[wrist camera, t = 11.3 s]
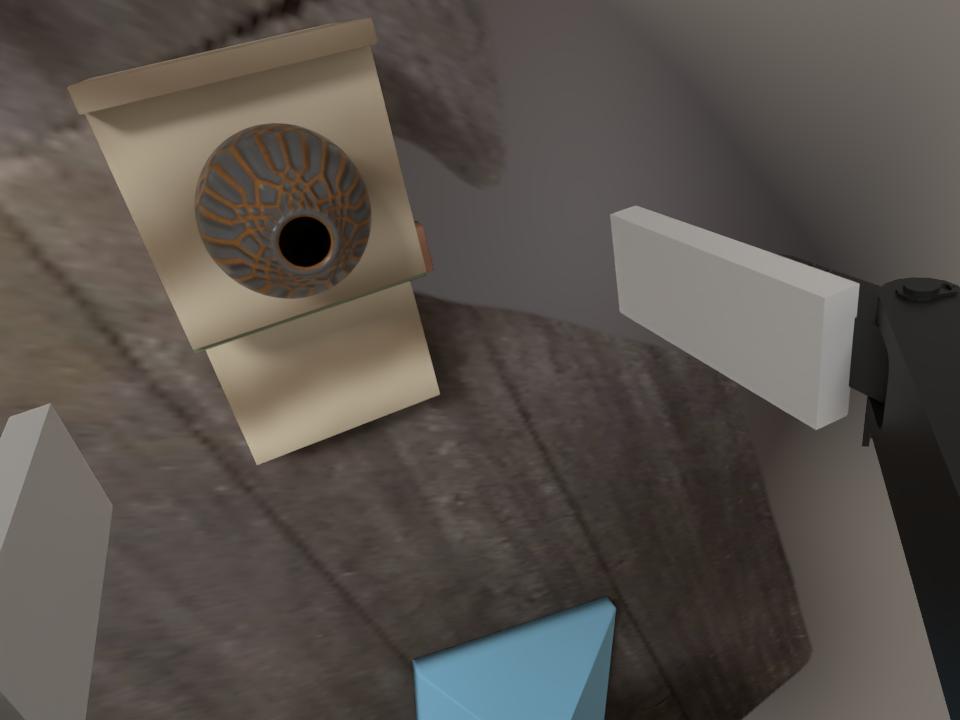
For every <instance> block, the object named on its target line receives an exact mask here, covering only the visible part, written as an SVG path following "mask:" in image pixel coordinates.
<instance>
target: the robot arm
mask: <svg viewBox="0 0 960 720" xmlns="http://www.w3.org/2000/svg"><path fill="white" fill-rule="evenodd" d="M610 219H611V229H612V239H613V249H614V258H615V268H616V279H617V289H618V299H619V309H620V313H622V314H624V315H626V316H627V317H629V318H630V319H632V320H634V321H635V322H637V323H639V324H640V325H642V326H644V327H645V328H647V329H649V330H650V331H652V332H654V333H655V334H657V335H659V336H660V337H662V338H664V339H665V340H667V341H669V342H670V343H672V344H674V345H675V346H677V347H679V348H680V349H682V350H684V351H685V352H687V353H689V354H690V355H692V356H694V357H695V358H697V359H699V360H700V361H702V362H704V363H705V364H707V365H709V366H710V367H712V368H714V369H715V370H717V371H719V372H720V373H722V374H724V375H725V376H727V377H729V378H730V379H732V380H734V381H735V382H737V383H739V384H740V385H742V386H744V387H745V388H747V389H749V390H750V391H752V392H754V393H755V394H757V395H759V396H760V397H762V398H764V399H766V400H767V401H769V402H770V403H772V404H774V405H775V406H777V407H779V408H780V409H782V410H784V411H785V412H787V413H789V414H790V415H792V416H794V417H795V418H797V419H799V420H800V421H802V422H804V423H805V424H807V425H808V426H810V427H812V428H813V429H815V430H818V429H820V428H822V427H824V426H826V425H828V424H830V423H832V422H834V421H837V420H838V419H841V418H843V417H845V416H847V415H848V405H849V394H850V387H852V388H853V389H855V390H858V391H860V392H861V393H863V394H865V395H867V405H866V415H865V424H864V433H863V442H862V446H869V442H870V439H871V438H873V442H874V445H875V449H876V453H877V456H878V460H879V464H880V467H881V471H882V474H883V478H884V482H885V485H886V488H887V492H888V495H889V499H890V503H891V506H892V510H893V514H894V517H895V521H896V524H897V528H898V532H899V535H900V539H901V543H902V546H903V550H904V553H905V557H906V561H907V564H908V568H909V571H910V575H911V579H912V582H913V585H914V589H915V593H916V596H917V600H918V604H919V607H920V611H921V614H922V618H923V622H924V625H925V628H926V632H927V636H928V639H929V643H930V647H931V650H932V654H933V657H934V661H935V664H936V668H937V672H938V676H939V679H940V682H941V686H942V690H943V693H944V697H945V701H946V704H947V708H948V711H949V715H950V719H951V720H960V287H959V286H958V285H955V284H952V283H950V282H947V281H944V280H938V279H932V278H905V279H898V280H894V281H891V282H888V283H886V284H884V285H883V286H882V287H881V286H878V285H875V284H872V283H869V282H866V281H863V280H861V279H858V278H855V277H852V276H849V275H846V274H843V273H840V272H837V271H834V270H832V271H829V268H826V267H823V266H820V265H817V264H816V265H813V264H812V263H811V262H808V261H805V260H802V259H799V258H796V257H794V256H788V255H780V254H774V253H770V252H768V251H765V250H762V249H759V248H756V247H754V246H751V245H748V244H745V243H742V242H739V241H736V240H733V239H730V238H728V237H725V236H722V235H719V234H716V233H713V232H710V231H708V230H705V229H702V228H699V227H696V226H693V225H690V224H688V223H684V222H682V221H679V220H676V219H673V218H670V217H667V216H665V215H661V214H659V213H656V212H653V211H650V210H647V209H645V208H642V207H639V206H633V207H630V208H627V209H624V210H621V211H618V212H616V213H612V214H610ZM112 508H113V505H112V504H111V502H110V500H109V499H108V497H107V496H106V494H105V492H104V491H103V489H102V487H101V486H100V484H99V482H98V481H97V479H96V477H95V476H94V474H93V472H92V471H91V469H90V467H89V466H88V464H87V462H86V461H85V459H84V458H83V456H82V454H81V453H80V451H79V449H78V448H77V446H76V444H75V443H74V441H73V439H72V438H71V436H70V434H69V433H68V431H67V429H66V428H65V426H64V424H63V423H62V421H61V419H60V418H59V416H58V415H57V413H56V411H55V410H54V408H53V406H52V405H51V403H50V404H47V405H44V406H41V407H38V408H35V409H32V410H29V411H26V412H23V413H20V414H17V415H14V416H11V417H9V419H8V422H7V424H6V426H5V429H4V431H3V433H2V436H1V438H0V720H85V718H86V710H87V702H88V695H89V687H90V679H91V671H92V664H93V656H94V648H95V640H96V632H97V625H98V617H99V609H100V601H101V594H102V586H103V578H104V570H105V562H106V555H107V547H108V539H109V531H110V524H111V516H112Z"/></svg>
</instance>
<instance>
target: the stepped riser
mask: <svg viewBox="0 0 960 720" xmlns="http://www.w3.org/2000/svg"><path fill="white" fill-rule="evenodd" d="M377 43H378V40H377V36H376V32H375V28H374V24H373V20H372V17H371V18H364V19H357V20H351V21H344V22H337V23H331V24H325V25H321V26H317V27H312V28H308V29H303V30H299V31H295V32H290V33H286V34H281V35H277V36H273V37H268V38H264V39H259V40H255V41H251V42H246V43H242V44H238V45H233V46H229V47H224V48H220V49H216V50H211V51H207V52H202V53H198V54H194V55H189V56H185V57H180V58H176V59H172V60H167V61H163V62H158V63H154V64H150V65H145V66H141V67H136V68H132V69H128V70H123V71H119V72H114V73H110V74H106V75H101V76H97V77H92V78H90V79H87V80H84V81H82V82H79V83H76V84H74V85H71V86H68V87H67V89H68V91H69V93H70V96H71V98H72V100H73V102H74V104H75V106H76V108H77V111H78V113H79V115H81V114H85V115H86V117H87V120H88V122H89V124H90V126H91V128H92V130H93V133H94V135H95V137H96V139H97V141H98V144H99V146H100V148H101V150H102V152H103V154H104V157H105V159H106V161H107V163H108V165H109V168H110V170H111V172H112V174H113V176H114V178H115V181H116V183H117V185H118V187H119V189H120V192H121V194H122V196H123V198H124V200H125V202H126V205H127V207H128V209H129V211H130V213H131V216H132V218H133V220H134V222H135V224H136V226H137V229H138V231H139V233H140V235H141V237H142V240H143V242H144V244H145V246H146V248H147V250H148V253H149V255H150V257H151V259H152V261H153V264H154V266H155V268H156V270H157V272H158V274H159V277H160V279H161V281H162V283H163V285H164V288H165V290H166V292H167V294H168V296H169V298H170V301H171V303H172V305H173V307H174V309H175V312H176V314H177V316H178V318H179V320H180V322H181V325H182V327H183V329H184V331H185V333H186V336H187V338H188V340H189V342H190V344H191V346H192V349H193V350H194V351H195V353H198V352H201V351H204V350H206V352H207V355H208V357H209V359H210V361H211V363H212V366H213V368H214V370H215V372H216V375H217V377H218V379H219V381H220V384H221V386H222V388H223V390H224V392H225V395H226V397H227V399H228V401H229V404H230V406H231V408H232V410H233V413H234V415H235V417H236V419H237V421H238V424H239V426H240V428H241V430H242V433H243V435H244V437H245V439H246V442H247V444H248V446H249V448H250V450H251V453H252V455H253V457H254V459H255V462H256V464H257V465H259V464H261V463H264V462H267V461H269V460H272V459H274V458H277V457H279V456H282V455H285V454H287V453H290V452H292V451H295V450H298V449H300V448H303V447H305V446H308V445H311V444H313V443H316V442H318V441H321V440H323V439H326V438H329V437H331V436H334V435H336V434H339V433H342V432H344V431H347V430H349V429H352V428H355V427H357V426H360V425H362V424H365V423H367V422H370V421H373V420H375V419H378V418H380V417H383V416H386V415H388V414H391V413H393V412H396V411H398V410H401V409H404V408H406V407H409V406H411V405H414V404H417V403H419V402H422V401H424V400H427V399H430V398H432V397H435V396H437V395H440V392H439V388H438V384H437V380H436V376H435V373H434V369H433V365H432V361H431V357H430V354H429V350H428V346H427V342H426V339H425V335H424V331H423V327H422V323H421V320H420V316H419V312H418V308H417V304H416V301H415V297H414V293H413V289H412V285H411V282H410V281H412V280H415V279H418V278H421V277H423V276H426V273H425V272H428V271H431V270H433V265H432V261H431V257H430V253H429V248H428V245H427V240H426V236H425V232H424V228H423V225H421V224H420V223H418V222H417V221H414V219H413V215H412V212H411V207H410V203H409V200H408V195H407V191H406V187H405V183H404V180H403V175H402V171H401V167H400V164H399V159H398V155H397V151H396V147H395V143H394V139H393V135H392V131H391V127H390V123H389V119H388V115H387V111H386V107H385V103H384V99H383V95H382V91H381V87H380V83H379V79H378V75H377V71H376V67H375V63H374V59H373V55H372V51H371V47H370V45H373V44H377ZM269 123H283V124H291V125H297V126H300V127H304V128H307V129H310V130H312V131H314V132H316V133H319V134H320V135H322V136H324V137H326V138H327V139H329V140H330V141H332V142H333V143H334V144H336V145H337V146H338V147H339V148H340V149H341V150H343V151H344V152H345V153H346V154H347V155H348V157H349V158H350V159H351V160H352V161H353V163H354V164H355V166H356V167H357V169H358V170H359V172H360V174H361V176H362V178H363V180H364V182H365V185H366V188H367V190H368V194H369V198H370V204H371V213H372V221H371V231H370V236H369V240H368V243H367V246H366V249H365V251H364V253H363V256H362V257H361V259H360V261H359V262H358V264H357V265H356V267H355V268H354V269H353V270H352V272H351V273H350V274H349V275H348V276H347V277H346V278H345V279H344V280H342V281H341V282H340V283H338V284H337V285H335V286H334V287H332V288H330V289H329V290H326V291H324V292H322V293H319V294H316V295H313V296H309V297H304V298H295V299H284V298H275V297H271V296H266V295H262V294H259V293H257V292H254V291H252V290H250V289H248V288H246V287H244V286H242V285H240V284H239V283H237V282H236V281H234V280H233V279H232V278H230V277H229V276H228V275H227V274H226V273H225V272H223V271H222V269H221V268H220V267H219V266H218V265H217V264H216V263H215V262H214V260H213V259H212V258H211V256H210V255H209V253H208V251H207V250H206V248H205V246H204V244H203V242H202V239H201V237H200V234H199V231H198V227H197V223H196V218H195V205H194V204H195V191H196V186H197V182H198V179H199V175H200V173H201V171H202V169H203V167H204V165H205V163H206V161H207V160H208V158H209V156H210V155H211V154H212V153H213V151H214V150H215V149H216V148H217V147H218V146H219V145H220V144H221V143H222V142H223V141H225V140H226V139H227V138H229V137H230V136H232V135H233V134H235V133H237V132H239V131H241V130H244V129H246V128H249V127H252V126H256V125H261V124H269Z"/></svg>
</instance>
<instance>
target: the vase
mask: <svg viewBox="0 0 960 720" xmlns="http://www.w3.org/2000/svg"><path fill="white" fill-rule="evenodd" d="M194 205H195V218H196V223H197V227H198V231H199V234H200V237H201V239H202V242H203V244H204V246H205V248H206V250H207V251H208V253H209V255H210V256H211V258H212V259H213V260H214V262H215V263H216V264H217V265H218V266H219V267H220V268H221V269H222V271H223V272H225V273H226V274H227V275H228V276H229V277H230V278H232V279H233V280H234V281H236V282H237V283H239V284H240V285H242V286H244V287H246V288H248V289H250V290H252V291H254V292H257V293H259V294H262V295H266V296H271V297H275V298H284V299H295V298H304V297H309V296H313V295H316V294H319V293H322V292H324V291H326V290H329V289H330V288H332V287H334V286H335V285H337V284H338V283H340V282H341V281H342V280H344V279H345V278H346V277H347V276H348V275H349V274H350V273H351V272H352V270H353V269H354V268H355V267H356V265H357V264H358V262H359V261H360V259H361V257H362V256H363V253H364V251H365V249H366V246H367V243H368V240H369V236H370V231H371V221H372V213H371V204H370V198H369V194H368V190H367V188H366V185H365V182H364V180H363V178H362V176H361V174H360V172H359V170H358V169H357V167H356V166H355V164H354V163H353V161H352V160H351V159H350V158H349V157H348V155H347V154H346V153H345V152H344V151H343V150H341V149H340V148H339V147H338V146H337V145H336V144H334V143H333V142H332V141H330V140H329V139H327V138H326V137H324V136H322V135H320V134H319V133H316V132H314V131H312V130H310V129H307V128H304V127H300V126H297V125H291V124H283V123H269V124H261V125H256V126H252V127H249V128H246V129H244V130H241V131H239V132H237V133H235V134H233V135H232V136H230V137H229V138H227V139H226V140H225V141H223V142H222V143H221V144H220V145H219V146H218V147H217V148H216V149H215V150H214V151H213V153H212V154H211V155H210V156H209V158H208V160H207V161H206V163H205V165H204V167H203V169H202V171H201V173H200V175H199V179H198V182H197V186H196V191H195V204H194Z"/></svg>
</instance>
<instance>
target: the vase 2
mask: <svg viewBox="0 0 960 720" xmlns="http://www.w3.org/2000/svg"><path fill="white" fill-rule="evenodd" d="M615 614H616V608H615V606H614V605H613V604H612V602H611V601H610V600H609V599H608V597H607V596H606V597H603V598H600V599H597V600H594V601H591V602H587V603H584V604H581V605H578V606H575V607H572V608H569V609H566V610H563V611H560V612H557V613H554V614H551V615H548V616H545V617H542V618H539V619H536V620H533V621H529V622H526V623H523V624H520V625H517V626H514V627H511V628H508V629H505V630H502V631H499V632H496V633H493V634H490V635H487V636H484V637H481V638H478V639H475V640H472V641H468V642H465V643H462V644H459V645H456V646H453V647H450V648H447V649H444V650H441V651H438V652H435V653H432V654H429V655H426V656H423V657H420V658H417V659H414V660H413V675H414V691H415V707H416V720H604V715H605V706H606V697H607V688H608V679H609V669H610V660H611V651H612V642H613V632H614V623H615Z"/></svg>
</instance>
